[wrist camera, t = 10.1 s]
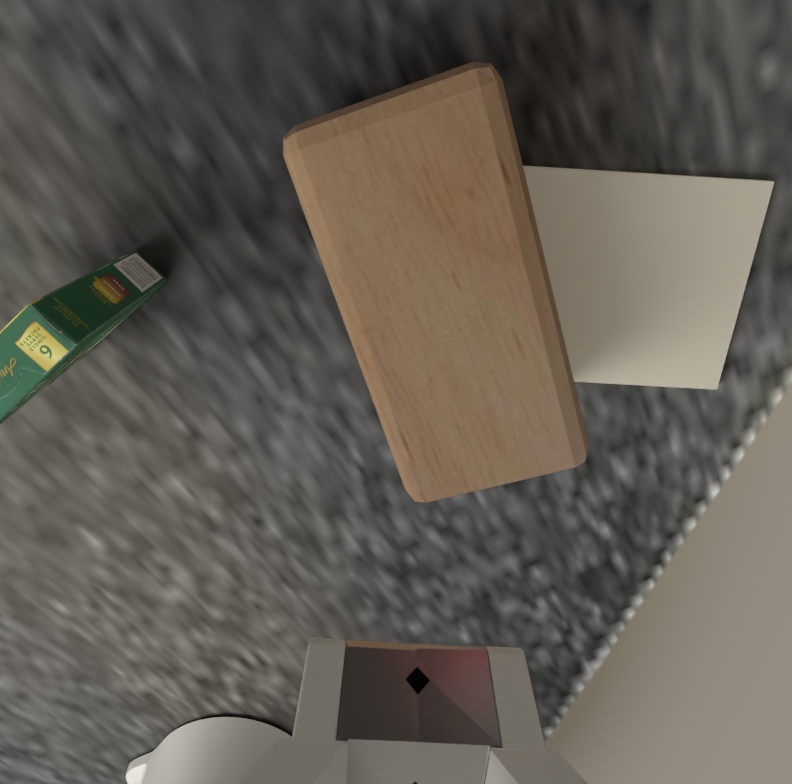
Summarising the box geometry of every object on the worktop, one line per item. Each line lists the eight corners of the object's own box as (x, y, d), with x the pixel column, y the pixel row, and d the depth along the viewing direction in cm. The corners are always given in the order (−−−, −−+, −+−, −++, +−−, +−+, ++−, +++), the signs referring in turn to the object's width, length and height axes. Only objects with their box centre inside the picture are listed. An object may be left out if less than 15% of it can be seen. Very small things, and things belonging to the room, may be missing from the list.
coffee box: (138, 241, 40) (25, 301, 28) (173, 277, 41) (78, 350, 29) (53, 321, 42) (-86, 409, 30) (88, 354, 43) (-33, 452, 31)
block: (596, 470, 34) (497, 51, 26) (409, 514, 35) (269, 133, 28) (564, 392, 43) (484, 64, 36) (417, 429, 45) (312, 126, 37)
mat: (712, 385, 44) (716, 389, 43) (471, 372, 43) (472, 375, 43) (769, 180, 38) (774, 181, 38) (494, 163, 38) (496, 164, 38)
